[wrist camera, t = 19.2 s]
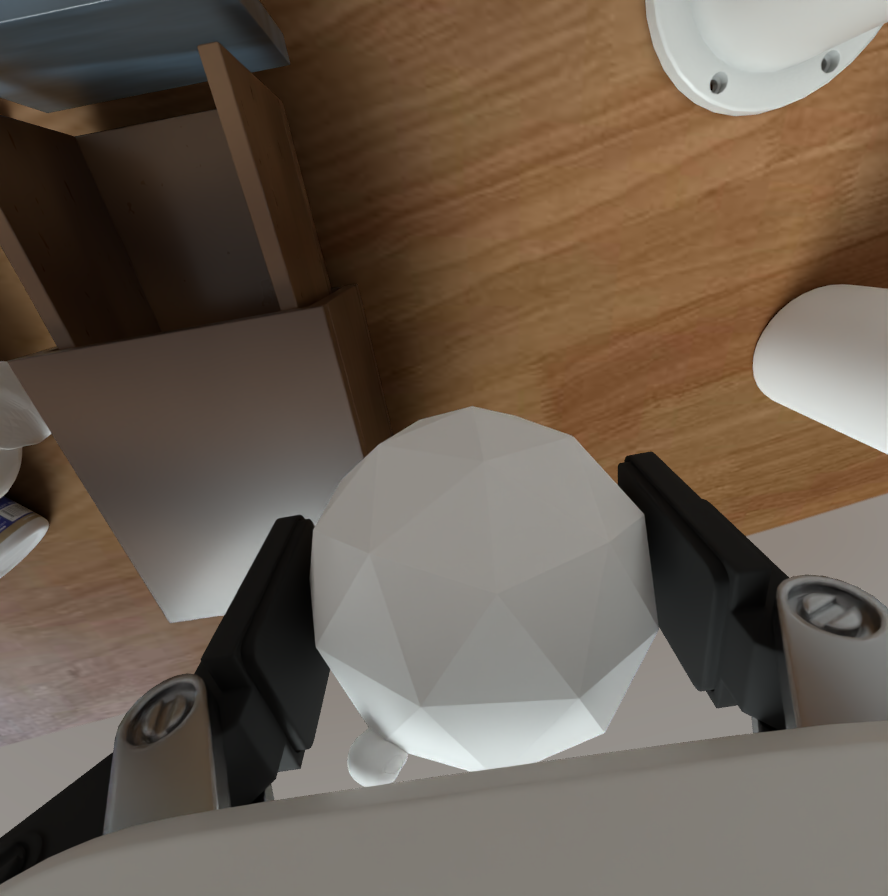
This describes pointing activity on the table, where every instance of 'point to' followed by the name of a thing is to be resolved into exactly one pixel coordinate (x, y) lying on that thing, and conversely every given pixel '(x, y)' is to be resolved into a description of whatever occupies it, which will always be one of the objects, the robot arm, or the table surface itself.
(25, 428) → the elephant figurine
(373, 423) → the cabinet
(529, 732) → the ornament
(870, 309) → the bottle
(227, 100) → the drawer
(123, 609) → the table surface
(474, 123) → the table surface
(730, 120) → the table surface
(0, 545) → the pill bottle
